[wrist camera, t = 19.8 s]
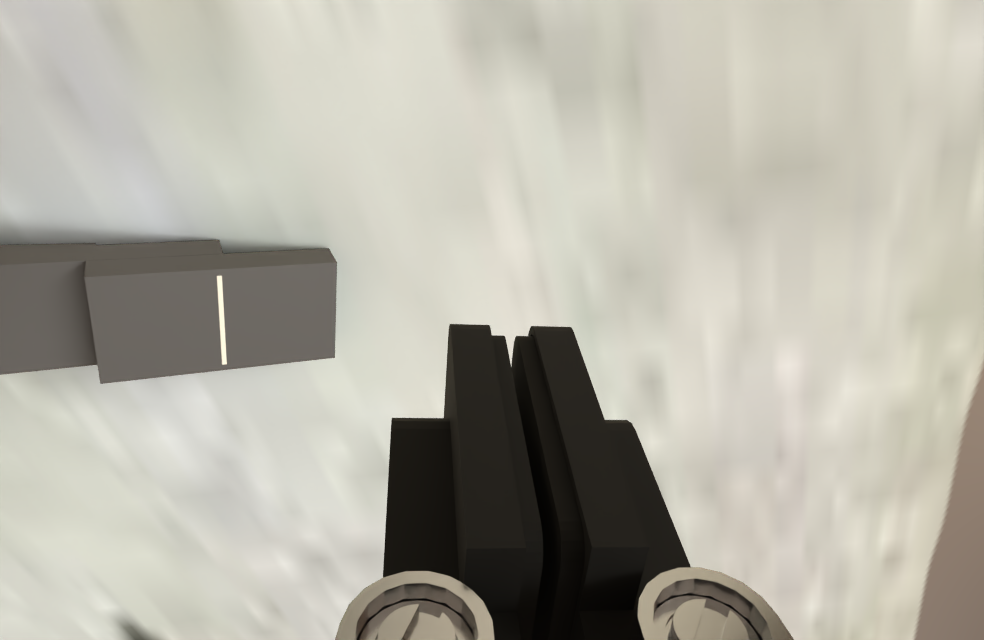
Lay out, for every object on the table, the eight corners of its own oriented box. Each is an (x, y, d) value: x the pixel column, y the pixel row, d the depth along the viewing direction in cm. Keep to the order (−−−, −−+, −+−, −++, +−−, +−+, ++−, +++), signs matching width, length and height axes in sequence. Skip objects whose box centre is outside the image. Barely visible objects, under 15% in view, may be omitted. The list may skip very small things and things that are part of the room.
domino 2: (327, 341, 37) (101, 364, 33) (328, 248, 34) (85, 260, 30) (334, 357, 35) (100, 383, 31) (336, 262, 33) (84, 277, 29)
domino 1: (224, 334, 36) (-20, 357, 32) (219, 239, 34) (-45, 251, 30) (228, 351, 35) (-25, 377, 31) (223, 253, 32) (-52, 268, 28)
